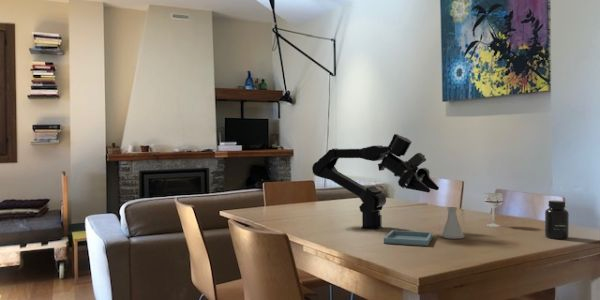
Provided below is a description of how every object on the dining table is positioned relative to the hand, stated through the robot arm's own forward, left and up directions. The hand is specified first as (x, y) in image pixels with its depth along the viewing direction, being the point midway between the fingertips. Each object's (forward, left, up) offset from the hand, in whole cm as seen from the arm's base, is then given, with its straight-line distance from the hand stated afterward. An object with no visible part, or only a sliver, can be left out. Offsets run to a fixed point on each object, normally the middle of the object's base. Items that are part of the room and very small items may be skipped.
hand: (434, 190), depth 164 cm
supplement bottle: (+38, +4, -15) cm, 41 cm away
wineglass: (+19, +22, -15) cm, 33 cm away
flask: (+6, -5, -15) cm, 17 cm away
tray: (-7, -15, -15) cm, 22 cm away
